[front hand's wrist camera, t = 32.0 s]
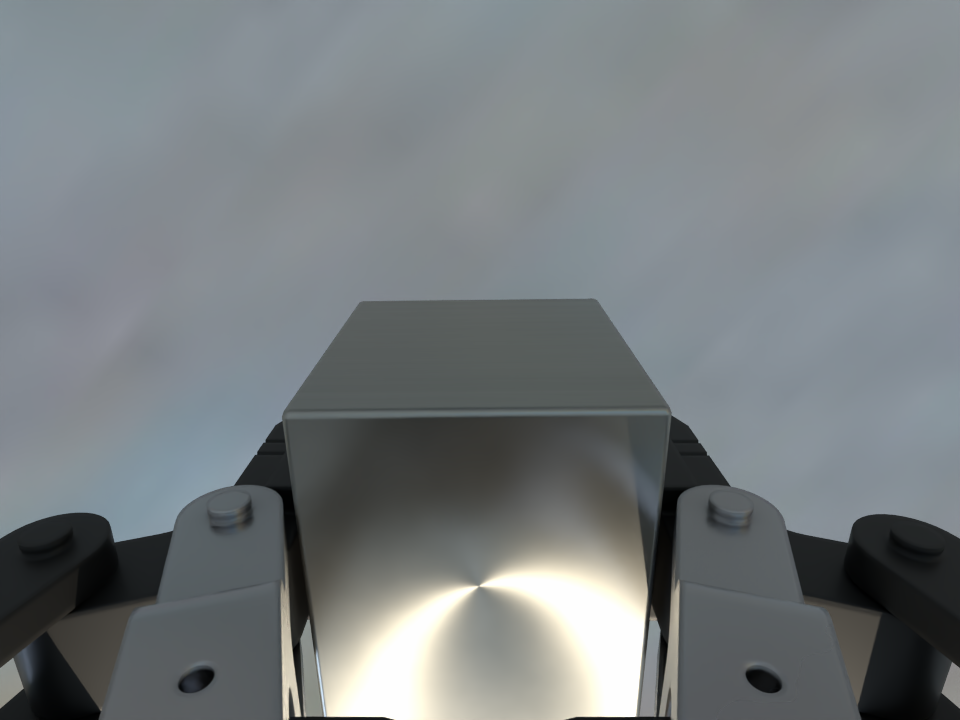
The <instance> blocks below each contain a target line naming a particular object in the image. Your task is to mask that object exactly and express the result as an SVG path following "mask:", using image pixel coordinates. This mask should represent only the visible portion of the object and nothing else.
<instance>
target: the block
mask: <svg viewBox="0 0 960 720" xmlns="http://www.w3.org/2000/svg"><path fill="white" fill-rule="evenodd" d="M671 414H672V413H671V410H670V407H669V406H668V404H667V403H666V401H665V400H664V398H663V397H662V395H661V394H660V392H659V391H658V389H657V388H656V387H655V385H654V384H653V382H652V381H651V379H650V378H649V376H648V375H647V373H646V372H645V370H644V369H643V367H642V366H641V364H640V363H639V361H638V360H637V358H636V357H635V356H634V354H633V353H632V351H631V350H630V348H629V347H628V345H627V344H626V342H625V341H624V339H623V338H622V336H621V335H620V333H619V332H618V330H617V329H616V327H615V326H614V325H613V323H612V322H611V320H610V319H609V317H608V316H607V314H606V313H605V311H604V310H603V308H602V307H601V305H600V304H599V302H598V301H597V300H595V299H530V300H441V301H363V302H360V303H359V304H358V306H357V307H356V309H355V310H354V311H353V313H352V314H351V316H350V317H349V319H348V320H347V321H346V323H345V324H344V326H343V327H342V329H341V330H340V331H339V333H338V334H337V336H336V337H335V339H334V340H333V342H332V343H331V344H330V346H329V347H328V349H327V350H326V352H325V353H324V354H323V356H322V357H321V359H320V360H319V362H318V363H317V364H316V366H315V367H314V369H313V370H312V372H311V373H310V374H309V376H308V377H307V379H306V380H305V382H304V383H303V385H302V386H301V387H300V389H299V390H298V392H297V393H296V395H295V396H294V397H293V399H292V400H291V402H290V403H289V405H288V406H287V407H286V409H285V410H284V412H283V415H282V420H283V428H284V435H285V442H286V450H287V457H288V464H289V472H290V479H291V486H292V493H293V501H294V508H295V515H296V523H297V530H298V537H299V545H300V552H301V559H302V567H303V574H304V581H305V589H306V596H307V603H308V611H309V618H310V625H311V633H312V640H313V647H314V654H315V662H316V669H317V676H318V684H319V691H320V698H321V706H322V713H323V717H386V718H390V719H394V720H566V719H570V718H574V717H639V715H640V706H641V697H642V687H643V678H644V668H645V659H646V649H647V640H648V630H649V621H650V612H651V602H652V593H653V583H654V574H655V564H656V555H657V546H658V536H659V527H660V517H661V508H662V498H663V489H664V480H665V470H666V461H667V451H668V442H669V432H670V423H671Z"/></svg>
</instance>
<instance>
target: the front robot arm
mask: <svg viewBox="0 0 960 720" xmlns="http://www.w3.org/2000/svg"><path fill="white" fill-rule="evenodd" d="M307 620H310V618H309V611H308V603H307V596H306V589H305V581H304V574H303V567H302V559H301V552H300V545H299V537H298V530H297V523H296V515H295V508H294V501H293V493H292V486H291V479H290V472H289V464H288V457H287V450H286V442H285V435H284V428H283V421H282V422H280V423H279V424H277V425H276V426H275V427H274V428H273V430H272V431H271V433H270V434H269V436H268V437H267V439H266V443H263V444H262V446H261V447H260V449H259V450H258V452H257V455H255V456H254V457H253V459H252V460H251V462H250V463H249V465H248V466H247V468H246V469H245V470H244V472H243V473H242V475H241V476H240V478H239V479H238V481H237V482H236V483H235V485H234V486H231V487H226V488H222V489H218V490H215V491H212V492H209V493H207V494H205V495H203V496H200V497H199V498H197V499H195V500H193V501H192V502H191V503H189V504H188V505H187V506H185V507H184V508H183V509H182V510H181V512H180V513H179V515H178V516H177V519H176V522H175V526H174V530H173V531H171V532H167V533H162V534H158V535H153V536H147V537H142V538H137V539H131V540H126V541H121V542H116V543H114V539H113V535H112V531H111V527H110V524H109V522H108V521H107V520H106V519H105V518H104V517H102V516H100V515H96V514H91V513H68V514H62V515H57V516H52V517H48V518H45V519H42V520H38V521H35V522H33V523H30V524H28V525H25V526H23V527H21V528H19V529H17V530H15V531H13V532H11V533H9V534H7V535H6V536H4V537H2V538H1V539H0V668H1V667H2V666H3V665H4V664H6V663H7V662H8V661H9V660H11V659H12V658H14V661H15V664H16V667H17V670H18V673H19V676H20V678H21V681H22V684H23V687H24V689H23V690H22V691H20V692H19V693H18V694H17V695H16V696H15V697H13V698H12V699H11V700H10V701H9V702H8V703H6V704H5V705H4V706H3V707H2V708H1V709H0V720H394V719H390V718H386V717H306V707H305V690H304V673H303V655H302V647H301V639H300V638H301V636H302V633H303V630H304V627H305V625H306V622H307ZM650 620H657V621H658V624H659V626H660V629H661V632H660V640H659V647H658V656H657V673H656V690H655V708H654V717H574V718H570V719H566V720H960V709H959V708H958V707H957V706H956V705H955V704H954V703H952V702H951V701H950V700H949V699H948V698H947V697H945V696H944V695H943V694H942V693H941V692H942V689H943V686H944V683H945V681H946V678H947V675H948V672H949V669H950V666H951V663H952V662H953V663H954V664H956V665H957V666H958V667H959V668H960V539H959V538H958V537H956V536H954V535H952V534H950V533H949V532H947V531H945V530H943V529H940V528H938V527H936V526H933V525H931V524H928V523H926V522H922V521H919V520H916V519H912V518H908V517H903V516H897V515H887V514H875V515H868V516H865V517H862V518H860V519H858V520H857V521H856V522H855V523H854V524H853V527H852V530H851V534H850V538H849V542H848V543H845V542H840V541H834V540H829V539H824V538H819V537H813V536H808V535H803V534H799V533H795V532H792V531H788V530H786V526H785V522H784V519H783V516H782V515H781V513H780V512H779V510H778V509H777V508H776V507H775V506H773V505H772V504H771V503H769V502H768V501H767V500H765V499H763V498H761V497H760V496H758V495H755V494H753V493H751V492H748V491H745V490H742V489H738V488H734V487H731V486H730V485H729V483H728V482H727V481H726V479H725V478H724V476H723V475H722V473H721V472H720V471H719V469H718V468H717V466H716V465H715V463H714V462H713V461H712V459H711V458H710V456H707V452H706V451H705V449H704V448H703V446H702V445H701V444H700V443H698V439H697V438H696V436H695V435H694V434H693V432H692V431H691V429H690V428H689V426H688V425H686V424H684V423H683V422H681V421H680V420H678V419H676V418H675V417H673V416H672V415H671V423H670V432H669V442H668V451H667V461H666V470H665V480H664V489H663V498H662V508H661V517H660V527H659V536H658V546H657V555H656V564H655V574H654V583H653V593H652V602H651V612H650Z"/></svg>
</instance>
